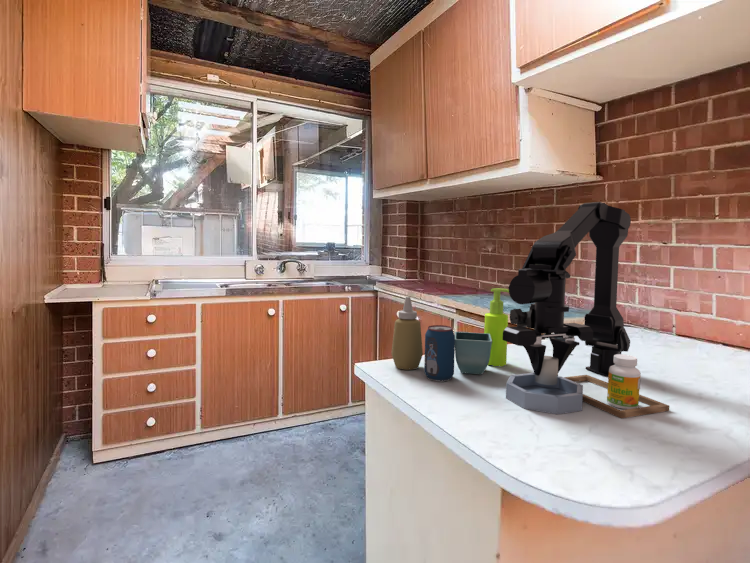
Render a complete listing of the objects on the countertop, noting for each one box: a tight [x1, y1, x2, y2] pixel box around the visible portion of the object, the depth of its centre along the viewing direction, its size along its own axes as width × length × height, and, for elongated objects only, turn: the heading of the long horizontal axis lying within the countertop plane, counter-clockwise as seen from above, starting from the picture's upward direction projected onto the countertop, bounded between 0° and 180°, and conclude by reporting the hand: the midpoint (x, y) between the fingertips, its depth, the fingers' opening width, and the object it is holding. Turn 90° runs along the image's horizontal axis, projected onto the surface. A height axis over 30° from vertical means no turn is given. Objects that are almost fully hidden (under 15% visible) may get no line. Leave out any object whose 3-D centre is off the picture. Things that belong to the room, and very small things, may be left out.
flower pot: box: [454, 331, 492, 375], centre depth 104 cm, size 9×9×9 cm
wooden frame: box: [563, 374, 670, 419], centre depth 88 cm, size 12×20×1 cm, turn 18°
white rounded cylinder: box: [535, 355, 559, 385], centre depth 88 cm, size 4×4×5 cm
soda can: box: [423, 324, 455, 382], centre depth 99 cm, size 7×7×12 cm
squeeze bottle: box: [391, 296, 424, 371], centre depth 106 cm, size 8×8×18 cm
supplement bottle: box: [606, 353, 642, 410], centre depth 83 cm, size 5×5×10 cm
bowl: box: [505, 372, 584, 415], centre depth 85 cm, size 14×14×3 cm
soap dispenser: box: [483, 287, 509, 367], centre depth 110 cm, size 6×7×20 cm
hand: (546, 374), depth 88 cm, fingers closed on white rounded cylinder, 4 cm apart
